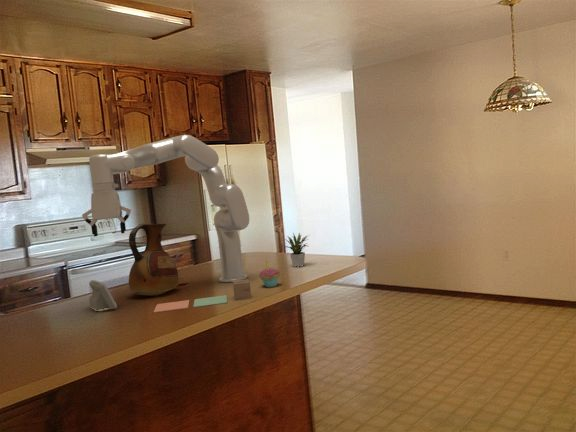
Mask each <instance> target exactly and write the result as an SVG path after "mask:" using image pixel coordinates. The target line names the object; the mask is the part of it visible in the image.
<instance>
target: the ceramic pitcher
mask: <svg viewBox="0 0 576 432" xmlns="http://www.w3.org/2000/svg"><path fill="white" fill-rule="evenodd" d="M166 226H167V223H156V224H155V223H139V224H138V225H137V226H135V227H134V228H133V229H131V231H130V232H129V236H128V245H129V248H130V250H131V253H132V255H133V258H134V262H133V264H132V265H131V268H130V271H129V275H128V287H129V291H130V292H132V293H135V294H136V295H139V296H159V295H163V294H165V293H167V292H168V291H169V292H170V291H171V290H173V289H175V288H177V287H178V285H179V272H178V268H177V265H176V263H175V261H174V259H173V258H172V256H170V254H169V253H167V252H166V251H165V250H164V247H163V245H162V239H163V238H162V231H163V229H164V228H165V227H166ZM139 230H143V231H144V232H145V236H146V245H145V248H144V251H143V252H140V251H139V249H138V247H137V242H136V238H137V233H138V231H139Z"/></svg>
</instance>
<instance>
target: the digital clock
mask: <svg viewBox="0 0 576 432" xmlns="http://www.w3.org/2000/svg"><path fill="white" fill-rule="evenodd" d="M88 285H89V287H90V288H91V290H92V294H91V295H90V296H89V298H88V300H89V308H90V307H92V308H94V309H96V310H99V309H104V308H111V309H115V308H116V309H117V307H118V304H117V303H116V300H115V299H114V296H112V294H111V292H110V290H109V288H108V287H107V285H106V283H104V282H100V281H99V280H95V279H92V280H90V281H89V283H88ZM111 309H110V310H111ZM116 309H115V310H116Z"/></svg>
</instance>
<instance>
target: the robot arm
mask: <svg viewBox="0 0 576 432" xmlns="http://www.w3.org/2000/svg"><path fill="white" fill-rule="evenodd" d="M182 157H184V161H185V164H186V166H187V168H188V169H190V170H192V171H195V172H197V173H199V175H200V176H201V177H202V178H203V180H204V183H205V186H206V190H207V193H208V195H209V199H210V202H211V203H212V205H213V206H214V207H217V208H218V207H220V208H221V209H219V210H217V212H216V213H215V214H214V217H213V222H214V223H213V224H214V227H215V231H216V236H217V241H218V242H217V243H218V251H219V259H220V267H221V269H220V270H221V276H220V277H219V279H218V280H219V282H221V283H233V281H239V280H247V278H248V274H247V273H244V265H243V264H244V263H243V256H242V246H241V245H242V244H241V238H240V234H239V232H238V231H242V230H245V229H246V228H248V226H249V224H250V214H249V210H248V206H247V203H246V200H245V196H244V193H243V191H242V189H241V188H240V187H239V186H238V185H236V184H233V183H232V184H231V183H227V181H226V178H225V176H224V173H223V170H222V169H221V167H220V166H219V162H220V161H219V155H218V153H217V151H216V150H215V149H214V148H212V147H211V146H209V145H208V144H206V143H205V142H203V141H201V140H199V139H198V138H197V137H194V136H193V135H190V134H181V135H176V136H173V137H168V138H165V139H161V140H158V141H154V142H150V143H146V144H143V145H140V146H138V147H135V148H131V149H127V150H125V151H121V152H116V153H110V154H107V153H106V154H105V153H101V154H100V153H99V154H97V153H96V154H93V155H90V156H89V159H88V162H89V163H88V164H89V171H90V177H91V179H90V180H91V185H92V186H91V187H92V193H91V195H90V196H91V197H90V209H88V210H86V211H85V212H84V213H83V214H81V216H82V219H83V220H84V221H85V222H86V224H88V225H89V226H90V227H91V234H92V235H93V237H97V236H98V235H99V232H98V227H97V225H96V223H97V221H101V220H110V219H111V220H112V219H118V220H119V221H120V223H119V226H120V233H121V234H125V231H127V228H126V221H127V220H128V219H129V218H130V215H131V213H132V209H130V208H127V207H125V206H122V205H121V199H120V196H119V191H118V190H116V189H117V188H119V183H115V181H114V175H118V174H125V173H128V172H130V171H131V170H133V169H138V168H145V167H150V166H154V165H155V166H156V165H159V164H162V163H164V162H168V161H171V160H175V159H179V158H182ZM223 207H226V208H223ZM123 212H125V215H124V216H123ZM89 215H91V218H92V220H91V219H90V218H89V217H88V216H89Z"/></svg>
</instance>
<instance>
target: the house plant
mask: <svg viewBox="0 0 576 432" xmlns="http://www.w3.org/2000/svg"><path fill="white" fill-rule="evenodd" d="M292 234H293V236H291V237H290V236H289V235H287V238H288V239H286V238H284V239H285V241H287V242H288V244H290V245H289V246H288V245H287V246H284V248H289V249H290V250H291V251H292V253H290V254H289V256H290V260H291V264H292V267H293V266H302V265H304V266H305V259H306V258H305V257H306V256H305V255H306V253H305V251H303V250H304V249H305V247H308V242H305V241H308V240H309V239H307V238H308V237H309V236H310V234H308V235H306V236H303V238H302V234H300V232H298V235H297V237H296V235H295V233H294V232H292ZM304 242H305V244H303V243H304Z"/></svg>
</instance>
